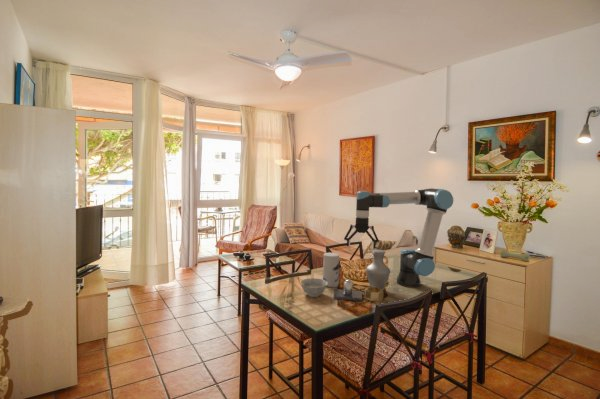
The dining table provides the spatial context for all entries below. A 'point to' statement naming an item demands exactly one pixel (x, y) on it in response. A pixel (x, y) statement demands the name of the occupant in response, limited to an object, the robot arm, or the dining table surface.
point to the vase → (378, 270)
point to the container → (331, 269)
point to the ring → (373, 293)
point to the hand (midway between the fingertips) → (360, 252)
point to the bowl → (313, 286)
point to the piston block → (347, 292)
